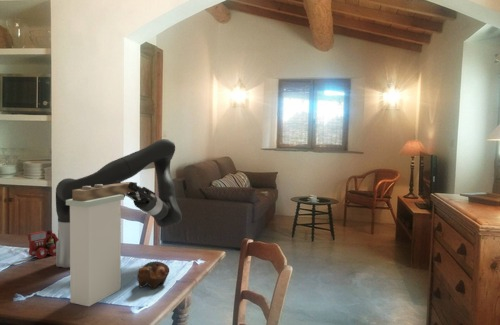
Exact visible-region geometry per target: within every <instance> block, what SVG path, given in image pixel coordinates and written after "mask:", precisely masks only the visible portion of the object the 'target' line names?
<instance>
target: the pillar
mask: <svg viewBox="0 0 500 325" xmlns="http://www.w3.org/2000/svg"><path fill="white" fill-rule="evenodd" d="M123 200H125V198H124V195H114V196H108V197H103V198H98V199H93V200H87V201H75V200H72V199H69V200H66V205H70V267H69V269H70V270H69V274H70V275H69V276H70V277H69V280H70V285H69V286H70V288H69V289H70V291H69V292H70V293H69V294H70V296H69V297H70V299H69V300H70V303H71V304H74V305H75V304H77V305H81V306H86V307H91V306H92V305H94V304H96V303H98V302H100V301H101V300H103V299H105V298H107V297H109V296H112V295H113V294H114V293H116V292H118V291H120V290H121V288H122V287H121V286H122V285H121V284H122V283H121V281H122V280H121V276H122V275H121V271H122V270H121V266H122V264H121V262H122V259H121V254H122V251H121V250H122V248H121V244H122V243H121V242H122V239H121V238H122V237H121V236H122V231H121V230H122V229H121V228H122V227H121V226H122V223H121V222H122V220H121V219H122V218H121V217H122V212H121V210H122V209H121V208H122V205H121V201H123Z"/></svg>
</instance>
